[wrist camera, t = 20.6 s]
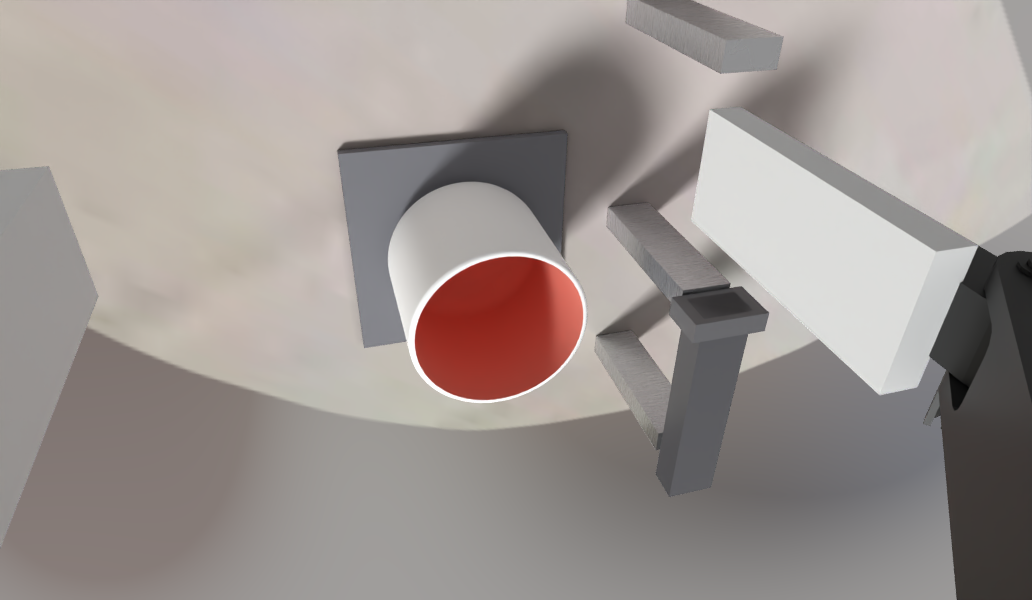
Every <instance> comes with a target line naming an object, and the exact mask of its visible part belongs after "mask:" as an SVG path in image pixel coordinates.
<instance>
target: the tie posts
mask: <svg viewBox="0 0 1032 600" xmlns="http://www.w3.org/2000/svg"><path fill="white" fill-rule="evenodd" d="M626 24H628V25H630V26H632V27H634V28H636V29H638V30H640V31H641V32H643V33H645V34H647V35H649V36H651V37H653V38H655V39H656V40H658V41H660V42H662V43H664V44H666V45H668V46H670V47H671V48H673V49H675V50H677V51H679V52H681V53H683V54H685V55H686V56H688V57H690V58H692V59H694V60H696V61H698V62H700V63H701V64H703V65H705V66H707V67H709V68H711V69H713V70H715V71H716V72H718V73H720V74H721V73H735V72H749V71H763V70H777V65H778V61H779V56H780V51H781V47H782V42H783V36H781V35H778V34H776V33H773V32H771V31H768V30H766V29H763V28H760V27H758V26H755V25H753V24H750V23H748V22H745V21H743V20H740V19H738V18H735V17H733V16H730V15H727V14H725V13H722V12H720V11H717V10H715V9H712V8H710V7H707V6H705V5H702V4H699V3H697V2H694V1H692V0H628V3H627V14H626ZM606 227H607V228H608V229H609V230H610V231H611V232H612V234H613V235H614V236H615V237H616V238H617V240H618V241H619V242H620V243H621V244H622V245H623V247H624V248H625V249H626V250H627V251H628V253H629V254H630V255H631V256H632V257H633V258H634V260H635V261H636V262H637V263H638V264H639V266H640V267H641V268H642V269H643V270H644V271H645V273H646V274H647V275H648V276H649V277H650V279H651V280H652V281H653V282H654V283H655V284H656V286H657V287H658V288H659V289H660V290H661V292H662V293H663V294H664V295H665V296H666V297H667V299H668V300H669V301H670V302H671V300H672V297H676V296H682V295H689V294H695V293H702V292H708V291H715V290H721V289H728V288H730V284H731V283H730V282H729V281H728V280H727V279H726V278H725V277H724V276H723V275H722V274H721V273H720V272H719V271H718V270H717V269H716V268H715V267H714V266H713V265H712V264H711V263H710V262H709V261H707V260H706V259H705V258H704V257H703V256H702V255H701V254H700V253H699V252H698V251H697V250H696V249H695V248H694V247H693V246H692V245H691V244H690V243H689V242H688V241H687V240H686V239H685V238H684V237H683V236H682V235H681V234H680V233H679V232H678V231H677V230H676V229H675V228H674V227H673V226H672V225H671V224H670V223H669V222H668V221H667V220H666V219H665V218H664V217H663V216H662V215H661V214H660V213H659V212H658V211H657V210H656V209H655V208H654V207H653V206H652V205H651V204H649V203H648V202H647V203H638V204H630V205H621V206H613V207H608V216H607V226H606ZM595 353H596V354H597V356H598V358H599V359H600V361H601V362H602V364H603V366H604V367H605V369H606V370H607V372H608V374H609V375H610V377H611V379H612V380H613V382H614V383H615V385H616V387H617V388H618V390H619V391H620V393H621V395H622V396H623V398H624V400H625V401H626V403H627V404H628V406H629V408H630V409H631V411H632V413H633V414H634V416H635V417H636V419H637V421H638V422H639V424H640V425H641V427H642V429H643V430H644V432H645V434H646V435H647V437H648V438H649V440H650V442H651V443H652V445H653V446H654V448H655V450H658V449H660V447H661V441H662V436H663V430H664V424H665V419H666V413H667V407H668V402H669V396H670V390H671V384H670V382H669V381H668V380H667V378H666V377H665V375H664V374H663V373H662V371H661V370H660V369H659V367H658V366H657V364H656V363H655V362H654V360H653V359H652V357H651V356H650V355H649V353H648V352H647V350H646V349H645V348H644V346H643V345H642V344H641V342H640V341H639V339H638V338H637V337H636V335H635V334H634V332H633V331H632V330H630V331H624V332H618V333H611V334H605V335H599V336H596V343H595Z"/></svg>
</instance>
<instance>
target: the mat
mask: <svg viewBox="0 0 1032 600" xmlns="http://www.w3.org/2000/svg"><path fill="white" fill-rule="evenodd" d="M567 136H568V133H567V132H566V131H565V130H562V131H551V132H539V133H528V134H517V135H506V136H494V137H483V138H472V139H461V140H450V141H438V142H427V143H416V144H405V145H393V146H382V147H371V148H360V149H348V150H337V152H338V159H339V167H340V174H341V181H342V189H343V196H344V204H345V211H346V218H347V226H348V233H349V240H350V248H351V255H352V263H353V270H354V277H355V285H356V292H357V299H358V307H359V314H360V322H361V329H362V336H363V344H364V348H367V347H374V346H380V345H387V344H393V343H399V342H406V341H407V340H406V337H405V333H404V329H403V325H402V321H401V317H400V313H399V309H398V305H397V301H396V297H395V294H394V290H393V286H392V282H391V278H390V274H389V268H388V250H389V245H390V240H391V237H392V235H393V232H394V230H395V228H396V226H397V224H398V222H399V221H400V219H401V217H402V216H403V215H404V214H405V212H406V211H407V210H408V209H409V208H410V207H411V206H412V205H413V204H414V203H415V202H417V201H418V200H419V199H420V198H422V197H423V196H425V195H426V194H428V193H430V192H432V191H434V190H436V189H438V188H441V187H443V186H446V185H450V184H454V183H460V182H483V183H489V184H493V185H496V186H499V187H501V188H503V189H505V190H508V191H510V192H511V193H513V194H514V195H516V196H517V197H518V198H520V199H521V200H522V201H523V202H524V203H525V204H526V205H527V206H528V207H529V209H530V210H531V211H532V213H533V214H534V216H535V217H536V219H537V220H538V222H539V223H540V225H541V226H542V228H543V229H544V231H545V232H546V233H547V235H548V236H549V238H550V239H551V241H552V242H553V244H554V245H555V247H556V248H557V250H558V251H559V253H560V254H561V245H562V226H563V208H564V190H565V172H566V154H567Z"/></svg>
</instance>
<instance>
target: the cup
mask: <svg viewBox="0 0 1032 600" xmlns="http://www.w3.org/2000/svg"><path fill="white" fill-rule="evenodd" d="M388 268H389V274H390V278H391V282H392V286H393V290H394V294H395V297H396V301H397V305H398V309H399V313H400V317H401V321H402V325H403V329H404V333H405V337H406V340H407V344H408V348H409V352H410V356H411V359H412V362H413V364H414V366H415V368H416V370H417V371H418V373H419V374H420V376H421V377H422V378H423V379H424V380H425V381H426V382H427V383H428V384H429V385H430V386H431V387H433V388H434V389H435V390H437V391H439V392H440V393H442V394H444V395H446V396H449V397H451V398H454V399H458V400H462V401H467V402H475V403H490V402H498V401H504V400H508V399H512V398H515V397H518V396H521V395H523V394H526V393H528V392H530V391H532V390H534V389H536V388H538V387H540V386H541V385H543V384H544V383H546V382H547V381H549V380H550V379H551V378H553V377H554V376H555V375H556V374H557V373H558V372H560V371H561V370H562V368H563V367H564V366H565V365H566V364H567V363H568V362H569V360H570V359H571V358H572V357H573V355H574V353H575V352H576V350H577V348H578V347H579V345H580V343H581V340H582V338H583V335H584V332H585V328H586V323H587V302H586V297H585V294H584V291H583V288H582V286H581V284H580V283H579V281H578V279H577V278H576V276H575V275H574V273H573V272H572V270H571V269H570V267H569V266H568V264H567V263H566V261H565V260H564V258H563V257H562V256H561V254H560V253H559V251H558V250H557V248H556V247H555V245H554V244H553V242H552V241H551V239H550V238H549V236H548V235H547V233H546V232H545V231H544V229H543V228H542V226H541V225H540V223H539V222H538V220H537V219H536V217H535V216H534V214H533V213H532V211H531V210H530V209H529V207H528V206H527V205H526V204H525V203H524V202H523V201H522V200H521V199H520V198H518V197H517V196H516V195H514V194H513V193H511V192H510V191H508V190H505V189H503V188H501V187H499V186H496V185H493V184H489V183H483V182H460V183H454V184H450V185H446V186H443V187H441V188H438V189H436V190H434V191H432V192H430V193H428V194H426V195H425V196H423V197H422V198H420V199H419V200H418V201H417V202H415V203H414V204H413V205H412V206H411V207H410V208H409V209H408V210H407V211H406V212H405V214H404V215H403V216H402V217H401V219H400V221H399V222H398V224H397V226H396V228H395V230H394V232H393V235H392V237H391V240H390V245H389V250H388Z"/></svg>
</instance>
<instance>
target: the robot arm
mask: <svg viewBox="0 0 1032 600" xmlns="http://www.w3.org/2000/svg"><path fill="white" fill-rule="evenodd" d="M691 221H692V222H693V223H694V224H695V225H696V226H697V227H699V228H700V229H701V230H702V231H703V232H704V233H705V234H706V235H707V236H708V237H709V238H710V239H712V240H713V241H714V242H715V243H716V244H717V245H718V246H719V247H720V248H721V249H722V250H723V251H724V252H726V253H727V254H728V255H729V256H730V257H731V258H732V259H733V260H734V261H735V262H736V263H737V264H739V265H740V266H741V267H742V268H743V269H744V270H745V271H746V272H747V273H748V274H749V275H750V276H751V277H753V278H754V279H755V280H756V281H757V282H758V283H759V284H760V285H761V286H762V287H763V288H764V289H766V290H767V291H768V292H769V293H770V294H771V295H772V296H773V297H774V298H775V299H776V300H777V301H778V302H780V303H781V304H782V305H783V306H784V307H785V308H786V309H787V310H788V311H789V312H790V313H791V314H793V315H794V316H795V317H796V318H797V319H798V320H799V321H800V322H801V323H802V324H803V325H804V326H806V327H807V328H808V329H809V330H810V331H811V332H812V333H813V334H814V335H815V336H816V337H817V338H818V339H820V340H821V341H822V342H823V343H824V344H825V345H826V346H827V347H828V348H829V349H830V350H832V351H833V352H834V353H835V354H836V355H837V356H838V357H839V358H840V359H841V360H842V361H843V362H844V363H845V364H847V365H848V366H849V367H850V368H851V369H852V370H853V371H854V372H855V373H856V374H857V375H858V376H860V377H861V378H862V379H863V380H864V381H865V382H866V383H867V384H868V385H869V386H870V387H871V388H873V389H874V390H875V391H876V392H877V393H878V394H879V395H882V394H887V393H892V392H897V391H901V390H906V389H911V388H916V387H917V386H918V384H919V382H920V380H921V377H922V375H923V373H924V370H925V368H926V366H927V363H928V361H929V359H930V357H931V358H932V359H933V360H935V361H936V362H937V363H938V364H940V365H941V366H942V367H943V368H945V369H946V372H945V374H944V376H943V379H942V381H941V383H940V385H939V387H938V390H937V392H936V394H935V397H934V399H933V401H932V403H931V405H930V407H929V410H928V412H927V414H926V416H925V419H924V422H923V424H925V425H929V426H930V425H931V423H932V421H933V419H934V418H936V417H938V416H940V415H941V429H942V436H943V449H944V460H945V471H946V481H947V494H948V504H949V516H950V529H951V539H952V551H953V562H954V574H955V585H956V597H957V600H1032V252H1025V251H1016V252H1015V251H1014V252H1006V253H1004V254H1002V255H1000V256H998V257H997V256H995V255H993V254H992V253H990V252H988V251H987V250H985V249H983V248H981V247H980V246H978V245H977V244H975V243H974V242H972V241H970V240H969V239H967V238H965V237H963V236H962V235H960V234H958V233H956V232H955V231H953V230H951V229H950V228H948V227H946V226H944V225H943V224H941V223H939V222H938V221H936V220H934V219H932V218H931V217H929V216H927V215H926V214H924V213H922V212H920V211H919V210H917V209H915V208H913V207H912V206H910V205H908V204H907V203H905V202H903V201H901V200H900V199H898V198H896V197H895V196H893V195H891V194H889V193H888V192H886V191H884V190H883V189H881V188H879V187H877V186H876V185H874V184H872V183H870V182H869V181H867V180H865V179H864V178H862V177H860V176H858V175H857V174H855V173H853V172H852V171H850V170H848V169H846V168H845V167H843V166H841V165H840V164H838V163H836V162H834V161H833V160H831V159H829V158H828V157H826V156H824V155H822V154H821V153H819V152H817V151H815V150H814V149H812V148H810V147H809V146H807V145H805V144H803V143H802V142H800V141H798V140H797V139H795V138H793V137H791V136H790V135H788V134H786V133H785V132H783V131H781V130H779V129H778V128H776V127H774V126H772V125H771V124H769V123H767V122H766V121H764V120H762V119H760V118H759V117H757V116H755V115H754V114H752V113H750V112H748V111H747V110H745V109H743V108H742V107H732V108H721V109H710V112H709V118H708V124H707V129H706V135H705V141H704V147H703V153H702V159H701V165H700V171H699V177H698V183H697V189H696V195H695V201H694V207H693V213H692V219H691ZM97 298H98V294H97V291H96V288H95V286H94V283H93V281H92V278H91V275H90V273H89V270H88V267H87V265H86V262H85V259H84V257H83V254H82V252H81V249H80V246H79V244H78V241H77V238H76V236H75V233H74V231H73V228H72V225H71V223H70V220H69V217H68V215H67V212H66V210H65V207H64V204H63V202H62V199H61V196H60V194H59V191H58V188H57V186H56V183H55V181H54V178H53V175H52V173H51V170H50V167H49V166H46V167H34V168H23V169H11V170H0V547H1V545H2V542H3V540H4V537H5V535H6V532H7V530H8V527H9V525H10V522H11V519H12V517H13V514H14V512H15V509H16V507H17V504H18V501H19V499H20V496H21V494H22V491H23V489H24V486H25V483H26V481H27V478H28V476H29V473H30V470H31V468H32V465H33V463H34V460H35V458H36V455H37V452H38V450H39V447H40V445H41V442H42V440H43V437H44V435H45V432H46V429H47V427H48V424H49V422H50V419H51V416H52V414H53V411H54V409H55V406H56V404H57V401H58V398H59V396H60V393H61V391H62V388H63V386H64V383H65V381H66V378H67V375H68V373H69V370H70V367H71V365H72V363H73V360H74V357H75V355H76V352H77V350H78V347H79V345H80V342H81V339H82V337H83V334H84V332H85V329H86V327H87V324H88V322H89V319H90V316H91V314H92V311H93V309H94V306H95V304H96V301H97Z"/></svg>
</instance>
